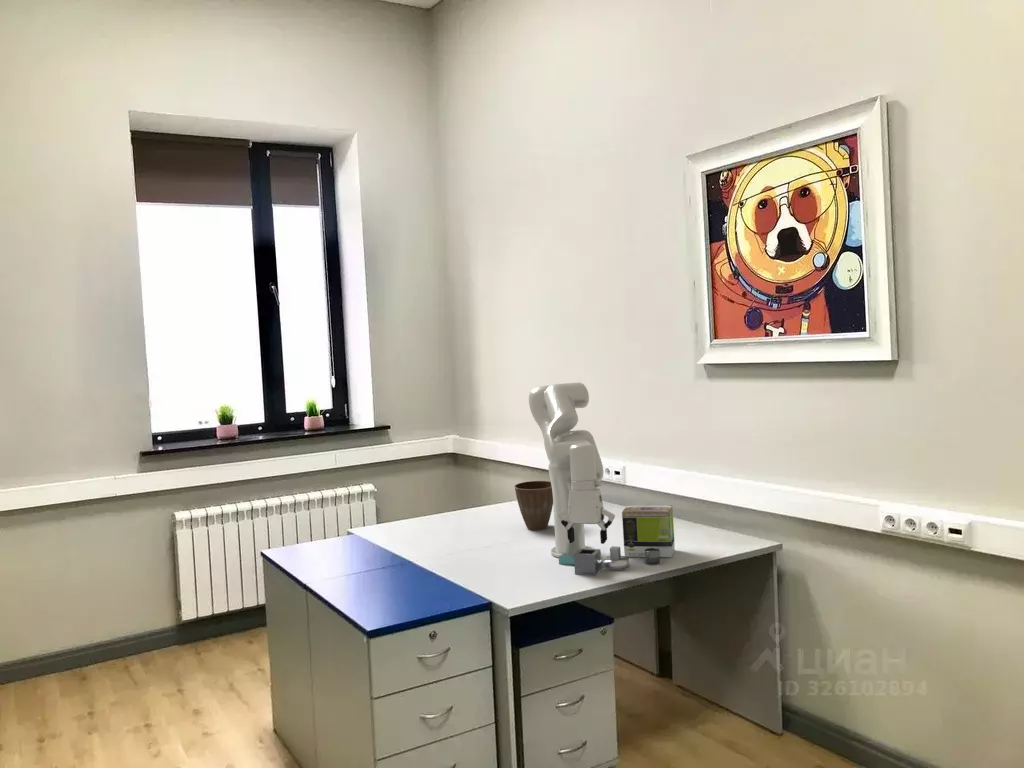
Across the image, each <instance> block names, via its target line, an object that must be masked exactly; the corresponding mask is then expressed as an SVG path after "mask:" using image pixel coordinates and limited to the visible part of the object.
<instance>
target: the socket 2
mask: <svg viewBox="0 0 1024 768" xmlns="http://www.w3.org/2000/svg"><path fill="white" fill-rule="evenodd" d="M644 559H645V560H644V561H645V564H646V565H648V566H658V565H660V564H661V557H660V550H659V549H656V548H649V549H646V550H645V557H644Z"/></svg>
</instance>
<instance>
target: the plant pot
mask: <svg viewBox="0 0 1024 768" xmlns="http://www.w3.org/2000/svg"><path fill="white" fill-rule="evenodd" d="M514 491H515V496H516V499H517V504H518V508H519V511H520V514H521V516H522V519H523V521H524V524H525V526H526V528H527V530H529V529H530V530H529V531H541V530H542V531H543V530H545V529H547V528H548V526H549V523H550V520H551V515H552V511H553V508H554V506H553V493H552V486H551V481H549V480H533V481H531V480H530V481H524V482H519V483H517V484H515V485H514Z"/></svg>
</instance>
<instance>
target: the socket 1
mask: <svg viewBox="0 0 1024 768" xmlns="http://www.w3.org/2000/svg"><path fill="white" fill-rule="evenodd" d="M601 559H602V555H601V549H600V548H598V549H597V548H590V549H582V548H580V549H579V550H578V551H577V552H576V553H575V554H574V565H573V566H574V574H575V575H586V576H587V575H588V576H597V575H598V573H599V572H601V570H602V567H601Z"/></svg>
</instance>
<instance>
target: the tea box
mask: <svg viewBox="0 0 1024 768" xmlns="http://www.w3.org/2000/svg"><path fill="white" fill-rule="evenodd" d="M621 517H622V535H623V536H622V537H623V549H624V550H623V551H624V556H626V557H628V558H630V557H632V558H633V557H634V558H645V550H646V549H649V548H656V549H659V550H660V558H672V557H673V555H674V552H675V548H676V547H675V529H674V513H673V504H672V505H670V504H668V505H667V504H665V505H664V504H662V505H661V504H659V505H658V504H657V505H656V504H655V505H653V504H652V505H651V504H650V505H639V504H638V505H637V504H636V505H626V506H625V507H624V508H623V510H622V512H621Z"/></svg>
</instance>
